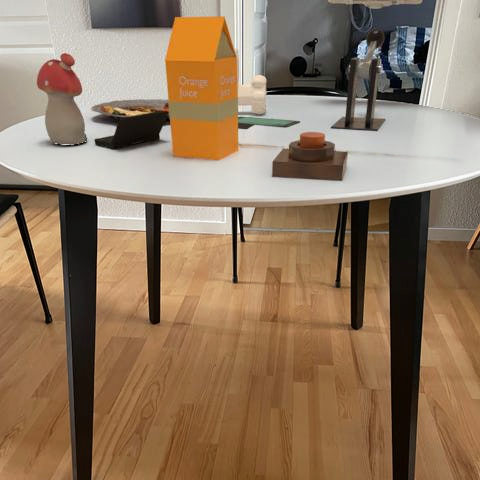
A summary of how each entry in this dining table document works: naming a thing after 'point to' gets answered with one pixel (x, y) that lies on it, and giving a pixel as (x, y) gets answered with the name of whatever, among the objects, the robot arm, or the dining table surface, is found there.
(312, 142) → the button
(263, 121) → the smartphone
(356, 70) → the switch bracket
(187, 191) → the dining table surface
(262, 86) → the dog bone
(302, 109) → the dining table surface
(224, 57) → the orange juice
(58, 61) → the decorative ornament
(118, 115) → the food plate
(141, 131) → the black angled stand
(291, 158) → the button block
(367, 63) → the switch lever
